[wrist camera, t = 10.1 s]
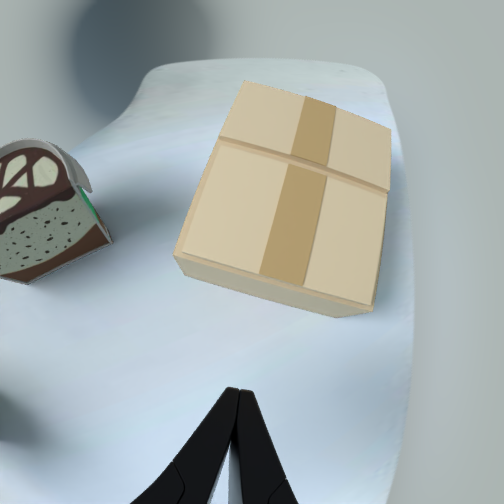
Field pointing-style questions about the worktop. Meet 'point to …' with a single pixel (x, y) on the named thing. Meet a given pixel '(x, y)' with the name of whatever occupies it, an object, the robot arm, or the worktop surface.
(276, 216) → the lid flap
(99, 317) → the worktop surface
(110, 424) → the worktop surface
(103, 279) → the worktop surface
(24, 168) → the food container
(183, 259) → the carton
